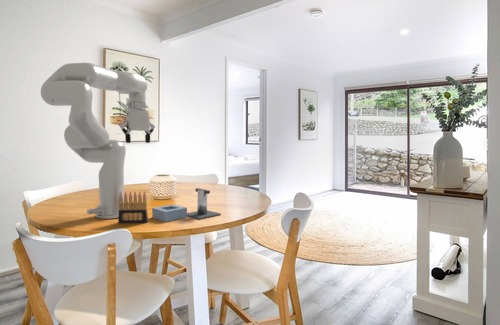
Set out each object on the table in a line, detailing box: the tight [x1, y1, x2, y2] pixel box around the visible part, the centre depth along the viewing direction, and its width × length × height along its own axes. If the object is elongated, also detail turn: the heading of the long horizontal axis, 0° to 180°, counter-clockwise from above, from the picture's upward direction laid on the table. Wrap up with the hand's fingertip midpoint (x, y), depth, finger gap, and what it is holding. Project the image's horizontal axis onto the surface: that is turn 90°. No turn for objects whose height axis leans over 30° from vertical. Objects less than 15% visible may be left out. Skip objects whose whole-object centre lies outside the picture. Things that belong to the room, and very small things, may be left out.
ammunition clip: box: [117, 191, 149, 224], centre depth 121 cm, size 11×2×12 cm, turn 95°
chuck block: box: [151, 204, 188, 223], centre depth 129 cm, size 10×10×4 cm
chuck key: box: [195, 188, 211, 215], centre depth 133 cm, size 4×8×10 cm, turn 47°
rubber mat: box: [187, 209, 222, 221], centre depth 133 cm, size 11×11×1 cm
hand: (138, 142), depth 151 cm, fingers open, 9 cm apart
